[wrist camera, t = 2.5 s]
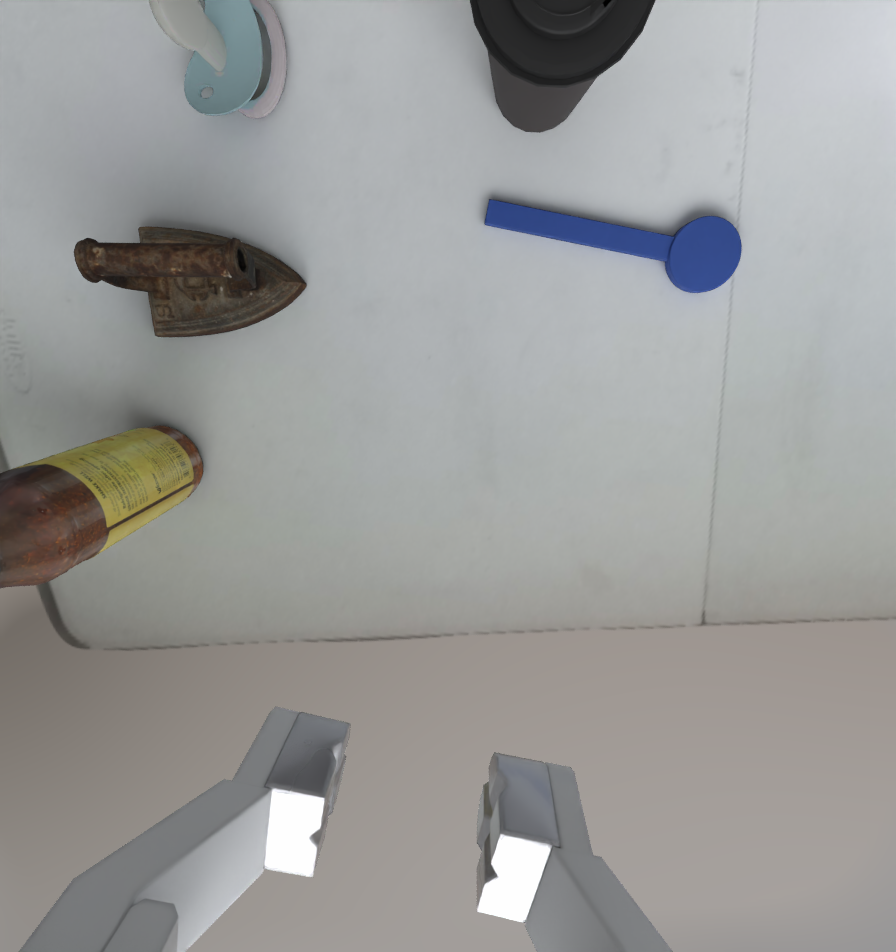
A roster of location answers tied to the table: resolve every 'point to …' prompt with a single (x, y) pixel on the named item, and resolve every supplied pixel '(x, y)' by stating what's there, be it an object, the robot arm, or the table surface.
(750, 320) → the table surface
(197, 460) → the sauce bottle
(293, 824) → the robot arm
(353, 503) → the table surface
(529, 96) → the coffee cup
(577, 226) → the spoon
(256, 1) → the pacifier
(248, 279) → the clothes iron
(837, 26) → the table surface
